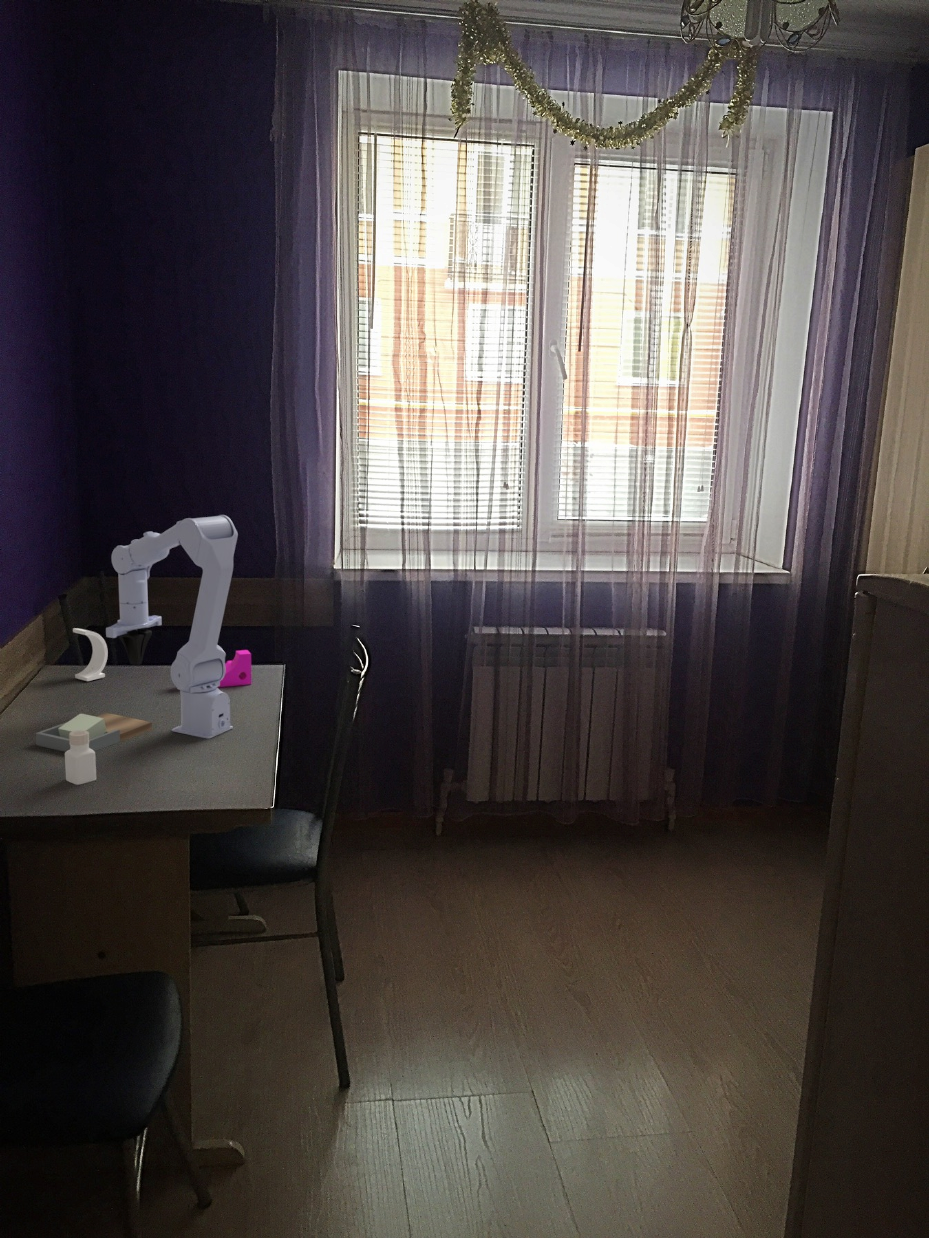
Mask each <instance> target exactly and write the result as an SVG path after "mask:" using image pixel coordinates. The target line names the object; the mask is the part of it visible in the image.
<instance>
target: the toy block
mask: <svg viewBox="0 0 929 1238" xmlns="http://www.w3.org/2000/svg"><path fill="white" fill-rule="evenodd" d="M225 669H226V671H225V676H224V678H223V679H222V680H221V681H220V686H218V687H217V688H223V687H224V688H225V687H234V686H248V685H252V653H251V652H250V651H249V650H248V649H241V650H235V655H234V657H233V659H232V660H227V661H226V662H225Z"/></svg>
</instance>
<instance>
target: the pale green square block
mask: <svg viewBox="0 0 929 1238" xmlns="http://www.w3.org/2000/svg"><path fill="white" fill-rule="evenodd" d="M66 722H67V723H66ZM66 722H65V723H66V724H64V725H63V726H61V727H60V728H58V730H59V734H60V737H63V738H68V739H69V734H70V732H73V731H78V730H84V731H88V732H89V739H92V738H94V737H97V736H100V735H102V734H104V733H106V732H107V729H106V725H105V721H104V718H100V717H96V716H94V715H90V714H86V713H79V714H77V715H76V716H75V717H73V718H71V719H70V720H69V721H66Z"/></svg>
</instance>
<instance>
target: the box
mask: <svg viewBox="0 0 929 1238" xmlns="http://www.w3.org/2000/svg"><path fill="white" fill-rule="evenodd" d="M67 722H68V721H66V722H63V723H60V724H57V725H55V726H53V727H50V728H49V727H48V728H46V729H44V730H41V731H37V732H35V741H36V742H35V745H36V746H37V747H42V748H48V749H52V750H55V751H61V752H64V753H65V752H66V751H68V750H70V743H69V741H70V740H69V739H68V738H63V737H60V734H59V730H58V728H60V727H61V726H63V725H64V724H66V723H67ZM119 743H121V742H120V730H118V729H115V730H113V731H110V732H108V733H105V734H102V735H100V736H97V737H94V738H92V739H89V748H90V749H92V750H93V751H95V752H97V751H99V749H100V750H103V749H105V748H107V747H110V745H111V746H113V745H116V744H119ZM104 747H105V748H104ZM102 748H103V749H102Z"/></svg>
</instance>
